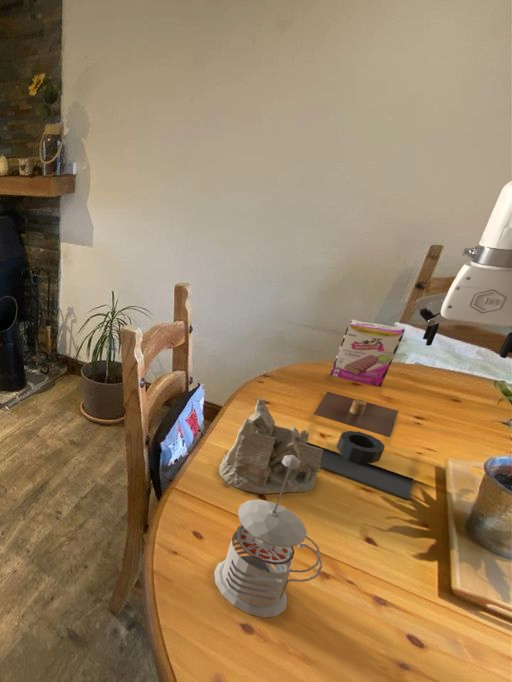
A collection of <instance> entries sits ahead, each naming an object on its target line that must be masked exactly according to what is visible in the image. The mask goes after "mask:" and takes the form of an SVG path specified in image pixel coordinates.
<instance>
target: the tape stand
mask: <svg viewBox="0 0 512 682" xmlns="http://www.w3.org/2000/svg"><path fill="white" fill-rule="evenodd" d="M398 413H399V410H397V409H393V408H389V407H388V406H382V405H379V404H375V403H372V402H368V401H366V400H363V399H359V398H353V397H350V396H345V395H342V394H337V393H335V392H330V391H326V392H325V394H324V395H323V398H322V399H321V401H320V402H319V404H318V406H317V408H316V409H315V411H314V412H313V415H314V416H317V417H321V418H325V419H327V420H331V421H335V422H337V423H340V424H344V425H347V426H350V427H354V428H357V429H361V430H364V431H367V432H371V433H374V434H378V435H381V436H383V437H386V438H391V436H392V433H393V430H394V426H395V423H396V420H397V417H398Z"/></svg>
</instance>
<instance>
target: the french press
mask: <svg viewBox="0 0 512 682" xmlns="http://www.w3.org/2000/svg"><path fill="white" fill-rule="evenodd" d="M282 463H283V464H284V465H285V466H286V467H289V468H288V471H287V474H286V477H285V480H284V483H283V486H282V489H281V492H280V493H279V495H278V497H277V501H276V502H273V501H270V500H269V501H268V500H263V499H251V500H250V499H249V500H246V501H245V502H243V503H241V504H240V506H239V508H238V510H237V515H238V520H239V522H240V523H241V525H239V526H238V527H237V528H236V531H235V532H234V533H233V534H232V537H231V539H230V544H229V546H228V551H227V553H226V558H225V559H223V560H222V561H221V562H219V563H217V565H216V567H215V569H214V571H213V575H214V583H215V585H216V587H217V588H218V591H219V592H220V594H221V595H222V597H224V598H225V599H226V600H227V601H228V602H229V603H230V604H231V605H232V606H234V607H235V608H237V609H239V610H240V611H242V612H243V613H246V614H247V615H251V616H256V617H259V618H262V619H263V618H273V617H278V616H280V615H281V613H283V612H285V611H286V608H287V604H288V601H289V600H288V596H287V592H286V589H287V586H288V584H289V583H291V582H296V583H297V582H299V583H302V582H309V581H311V580H313V579H315V578H317V576H319V575H320V572H321V571H322V568H323V562H322V559H321V558H322V556H321V550H320V547H319V545H317V543H316V542H315V540H313V539H311V538H310V537H308V535H307V533H308V531H307V529H306V526H305V523H304V522H303V520H301V518H299V516H298V515H297V514H295V512H292V511H291V510H290V509H288V508H286V507H285V506H283V505H281V504H279V503H280V501H281V497H282V494H283V493H282V492H283V489H284V486H285V483H286V480H287V477H288V474H289V471H290V468H292V469H297V468H299V465H300V460H299V459H298V458H297V457H296V456H294V455H287V456H285V457H284V458H283V461H282ZM306 539H307V540H308V541H310V542H311V543H312V545H314V547H315V548H316V550H315V549H314V548H312V547H311V546H310V545H308V544H306V543H303V542H305V540H306ZM235 541H236V542H235ZM301 543H302V544H301ZM237 545H239V546H237ZM235 546H236V547H235ZM294 547H297V548H298V550H299V551H301V550H302V548H303V547H306V548H308V549H309V550H310V551H312V553H313V554H314V555H315V556H316V558H317V560H316V562H315V563H314V564H312V565H311V566H310V567H308V568H307V569H302V570H298V569H293V564H294V563H293V560H294V556H295V548H294ZM239 550H241V551H239ZM245 554H248V555H245ZM240 555H241V556H240ZM318 565H319V567H318V568H317V570H316V572H315V574H313V575H312V576H310V577H309V578H304V579H303V578H302V579H298V578H297V579H296V578H294V579H293V578H289V576H290V573H306V572H310V571H312V570H314V568H316V567H317V566H318ZM273 567H274V568H273Z"/></svg>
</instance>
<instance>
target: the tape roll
mask: <svg viewBox="0 0 512 682" xmlns="http://www.w3.org/2000/svg"><path fill="white" fill-rule="evenodd" d="M335 447H336V449H337V450H338V452H337V453H338V454H339V455H340V456H341V457H343V458H344V459H346V460H348V461H350V462H353V463H356V464H359V465H367V466H371V465H373V463H377V462H380V460H381V457H382V455H383V452H384V450H385V447H386V445H384V443H383V442H382V441H381V440H380V439H378V438H377V437H375V436H373V435H372V434H369V433H365V432H361V431H354V430H346V431H344V432H341V434H340V436H339V439H338V442H337V444H336V446H335Z"/></svg>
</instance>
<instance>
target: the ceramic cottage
mask: <svg viewBox="0 0 512 682" xmlns="http://www.w3.org/2000/svg"><path fill="white" fill-rule="evenodd" d="M309 436H310V434H309V432H308V430H301V431H300V432H299V430H298V429H297V428H296V426H293V427H292V426H291V427H290V428H286V427H282V426H279V425H276V421H275V419H274V418H273V416H272V414H271V413H270V411H269V408H268V407H267V405H266V400H265V398H262V397H261V398H260V397H259V398H258V399H257V401H256V404H255V407H254V412H253V413H252V414H251V415H250V416H249V418H245V419H244V420H243V422H242V425H241V426H240V427H239V429H238V432H237V435H236V439H235V441H234V444H233V446H231V448H230V449H229V450H228V452H227V453H226V454H224V455H223V458H222V461H221V463H220V465H219V468H218V473H219V476H220V477H221V479H222V480H223V481H224V482H225V483H227V484H228V485H230V486H232V487H234V488H237V489H239V490H241V491H244V492H248V493H254V494H258V495H267V494H271V495H272V494H280V492H281V489H282V486H283V483H284V480H285V477H286V474H287V471H288V468H289V467H286V466H285V465H284V464H283V463H282V461H283V458H284V457H285V456H287V455H294V456H296V457H297V458H298V459H299V460H300V465H299V468H297V469H292V468H290V471H289V474H288V477H287V480H286V483H285V486H284V489H283V492H282V494H286V493H305V492H309V491H312V489H314V487H315V481H316V479H317V477H316V476H317V474H318V473H319V472H320V469H321V468H320V467H321V465H320V464H321V461H320V460H321V456H322V453H323V449H320V448H317V447H313V446H310V445H307V442H308V439H309Z"/></svg>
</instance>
